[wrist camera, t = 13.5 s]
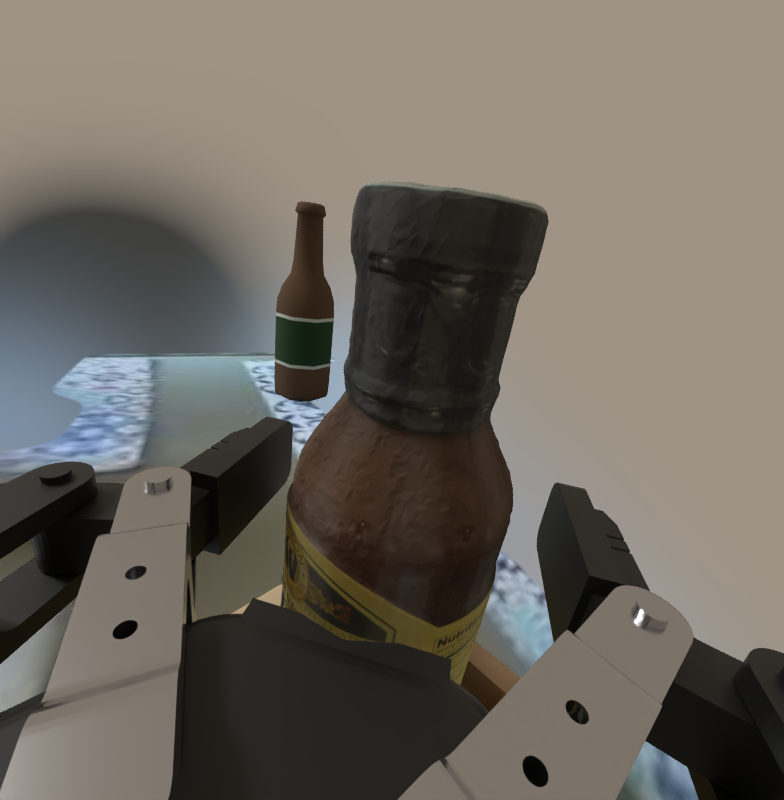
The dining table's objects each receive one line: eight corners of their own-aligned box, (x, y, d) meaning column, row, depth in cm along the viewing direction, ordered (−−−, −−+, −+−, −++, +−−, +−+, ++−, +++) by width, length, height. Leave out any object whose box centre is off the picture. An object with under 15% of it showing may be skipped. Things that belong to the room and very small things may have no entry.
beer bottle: (282, 404, 50) (289, 196, 41) (266, 383, 56) (269, 198, 47) (338, 399, 54) (355, 208, 45) (317, 380, 60) (329, 209, 51)
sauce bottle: (260, 702, 17) (265, 178, 10) (388, 649, 20) (464, 219, 13) (301, 919, 11) (379, 130, 4) (467, 802, 14) (671, 218, 7)
